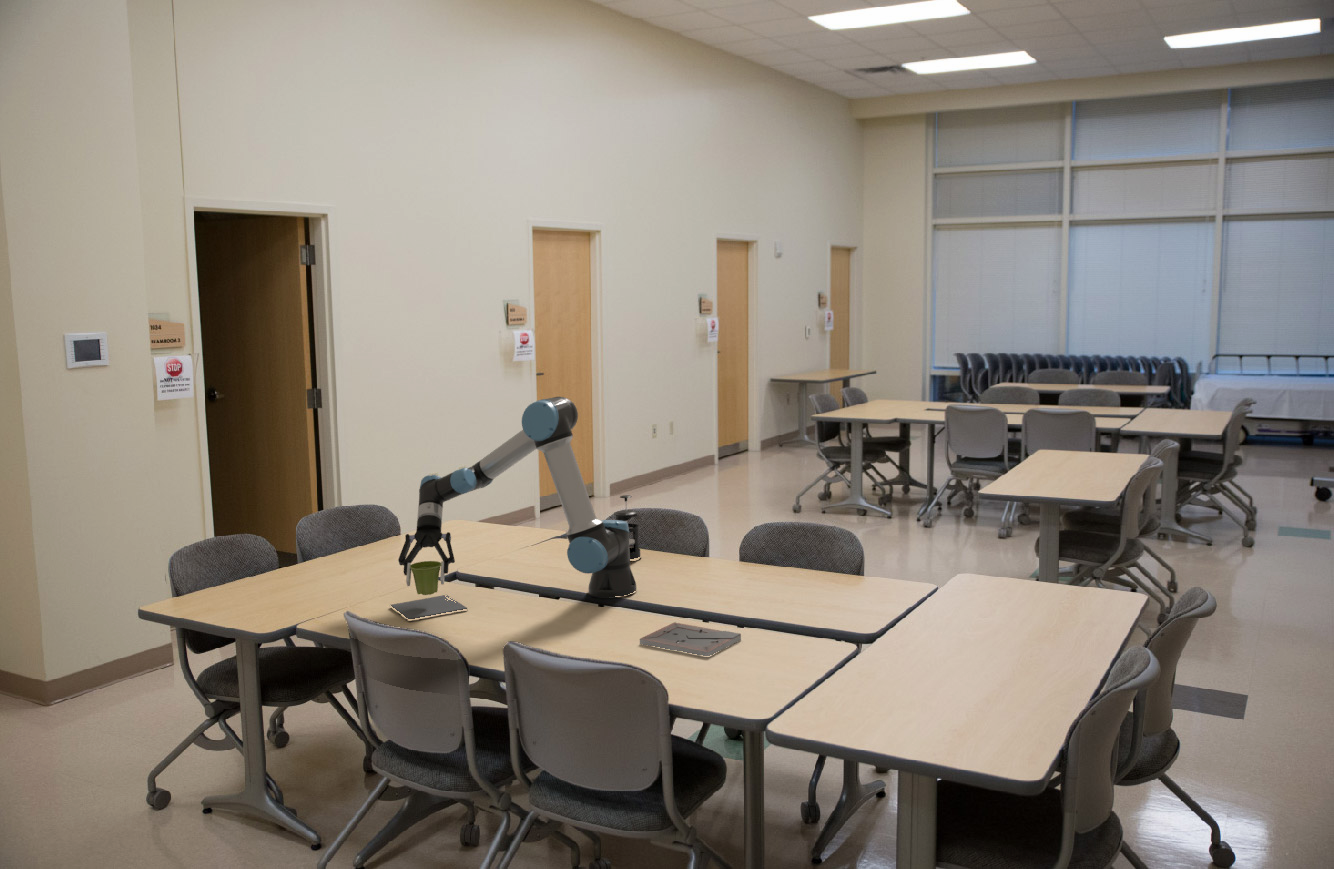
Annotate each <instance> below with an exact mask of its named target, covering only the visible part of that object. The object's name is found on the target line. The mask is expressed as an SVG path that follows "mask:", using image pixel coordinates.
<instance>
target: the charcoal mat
mask: <svg viewBox="0 0 1334 869" xmlns="http://www.w3.org/2000/svg"><path fill="white" fill-rule="evenodd" d="M445 595H447V596H446V597H448V598H449V597H450V596H449V595H448V594H442V595H437V596H431V597H426V598H422V599H421V598H420V599H414V600H410V601H403V602H399V603H394V604H390V605H391V606H392V607H393V608H395V609H396V610H397V611H399V612H400V613H401V614H403V615H404V616H405V617H406V618H408V619H415V618H420V617H425V616H431V615H436V614H441V613H446V612H452V611H457V610H463V609H467V610H468V607H466V606H465V605H463V604H462V603H460V602H459V601H457V600H456V599H454V598H452V597H451V598H452V599H451V598H450V599H451V600H453V599H454V600H453V601H451V600H448V599H447V598H446V597H445ZM445 599H446V600H445ZM447 600H448V601H447ZM455 600H456V601H455ZM454 601H455V602H456V603H455V602H454Z"/></svg>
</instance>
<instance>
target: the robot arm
mask: <svg viewBox="0 0 1334 869" xmlns="http://www.w3.org/2000/svg"><path fill="white" fill-rule="evenodd" d="M578 417H579V412H578V407H576V405H575V403H574V402H572V400H571V399H569V398H566V397H564V396H553V397H549V398H543V399H539V400H536V401H534V402H532V403H530V404H528V406H527V407H526V408H525V410H524V411H523V414H522V417H521V426H522V429H521V430H520V431H519V432H517V433H516V434H515V435H513V436H512V437H510V438H509V439H508V440H506V442H503V443H502V444H500V446H498V447H497V448H495V449H494V450H492V451H491V452H490V453H489V454H487V455H486V456H484V457H483V458H481V459H480V460H479V461H478V462H476V463H475V464H473V465H472V466H470V467H462V468H459V469H455V471H453V472H450V473H449V474H445V475H444V476H442V477H441V476H439V475H436V474H431V475H430V474H429V475H428V474H427V475H425V476H424V477H422V479H421V481H420V483H419V484H420V485H419V489H418V491H419V492H418V497H419V498H418V508H417V521H416V532H415V533H414V534H411V535H410V534H409V533H406V534H405V537H404V538H405V541H404V544H403V546H402V549H401V551H400V555H399V557H398V563H399V566H403V575H404V576H406V580H405V582H406V586H407V587H411V582H412V580H411V579H412V577H411V576H412V570H411V568H410V565H412V563H413V561H415V560H414V559H415V558H416V557H417V555H418V554H419V552H420V551H421V550H422V549H423V548H435V550H436V551H437V553H438V554H439V556H440V558H441V561H440V562H441V566H440V575H439V576H440V577H439V578H440V579H439V580H440V584H441V585H445V574H448V573H449V567H450V566H449V565H450V564H455V562H456V560H455V556H454V552H453V547H452V544H451V541H452V536H451V532H446V533H443V532H442V525H443V522H442V520H443V508H444V503H446V502H447V501H450V500H452V499H455V498H457V497H459V496H462V495H465V494H467V493H469V492H474V491H477V490H479V489H484V488H486V487H487V486H489V485H490V484H492V482H493V481H494V479H496V478H498V477H499V476H500V475H501V474H503V473H504V472H506V471H507V470H508V469H510V468H511V467H513V466H514V465H515V464H517V463H518V462H519V461H522V460H523V459H524V458H525V457H527V456H529V455H530V454H531V453H533V452H534V451H536V450H538V451H540V452H542V454H543V455H544V459H545V461H546V463H547V467H548V469H549V472H550V476H551V478H552V481H553V484H554V487H555V490H556V493H557V496H558V499H559V501H560V504H561V505H560V506H561V507H562V511H563V513H564V516H565V518H566V521H567V524H568V530H567V531H566V537H567V540H568V543H569V545H568V547H567V551H566V556H567V559H568V562H569V563H570V565H571V566H572V568H574V569H575V570H576V571H578V572H581V573H583V574H591V576H590V580H589V583H588V594H589V595H590V596H591V597H595V598H599V599H610V598H609V597H615V596H624V595H628V594H630V593H633V592H634V591H636V590H637V583H636V580H635V576H634V574H633V571H632V569H631V562H630V548H629V547H630V546H629V539H630V532H629V529H630V527H628V524H629V523H628V521H627V522H626V521H620V520H615V519H599V518H597V516H596V513H595V510H594V508H593V505H592V502H591V499H590V496H589V493H588V491H587V487H586V485H585V482H584V478H583V476H582V472H581V470H580V466H579V464H578V461H577V459H576V456H575V453H574V450H573V448H572V445H571V442H572V440H573V438H574V434H573V431H572V430H573V429H574V427H575V426H576V424H577V423H578V419H579V418H578ZM442 539H443V541H444V542H445V543H446V546H447V551H448V555H449V556H447V555H446V553H445V551H444V550H443V548H442V547H441V545H440V543H439V542H440V541H441V540H442ZM414 540H415V541H416V542H415V544H414V546H413V547H412V548H411V551H410V552H409V550H410V547H411V544H412V543H414V542H413V541H414ZM636 592H637V591H636Z"/></svg>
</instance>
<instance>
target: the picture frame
mask: <svg viewBox="0 0 1334 869" xmlns="http://www.w3.org/2000/svg"><path fill="white" fill-rule="evenodd" d="M737 641H738V642H740V641H742V634H741V633H739V632H733V631H729V630H719V629H713V628H708V627H704V626H703V627H701V626H698V625H692V624H685V623H680V622H672V623H670V624H668V625H667V626H664V627H661V628H660V629H658V630H656V631H654V632H651V633H649V634H647V635H645V636H643V637H641V638H639V645H640V644H643V645H642V646H645V645H648V646H647V647H650V646H655V647H660V648H665V649H670V650H677V651H683V652H687V653H692V654H697V655H703V656H710V655H713V654H714V653H716V652H718V651H720V650H722V649H724V648H725V649H727V648H729V647H730V645H731V646H732V644H733V645H735V644H737V643H738V642H737ZM734 643H735V644H734ZM728 646H729V647H728ZM655 647H654V648H655ZM726 647H727V648H726ZM660 648H659V649H660ZM665 649H664V650H665ZM725 649H724V650H725ZM670 650H669V651H670ZM722 651H723V650H722ZM720 652H721V651H720ZM718 653H719V652H718ZM716 654H717V653H716ZM713 656H714V655H713Z"/></svg>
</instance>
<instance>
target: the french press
mask: <svg viewBox="0 0 1334 869" xmlns="http://www.w3.org/2000/svg"><path fill="white" fill-rule="evenodd" d="M619 498H621V499H624V502H625V510H618V511H615V512H613V515H614V520H620V521H625V522H627V523H628V521H629V520H630V519H631V518H632V517H633V518H639V514H640V513H639V511H638V510H630V509H628V507H627V502H628V499H630V498H632V496H631V495H629V494H628V495H626V494H624V495H621V496H619ZM628 528H629V533H632V538H629V548H630V559H634V558H638V557H640V556H641V548H640V547H639V542H640V540H639V531H640V528H641V527H640V525H639V524H637V523H628ZM632 546H633V547H632Z"/></svg>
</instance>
